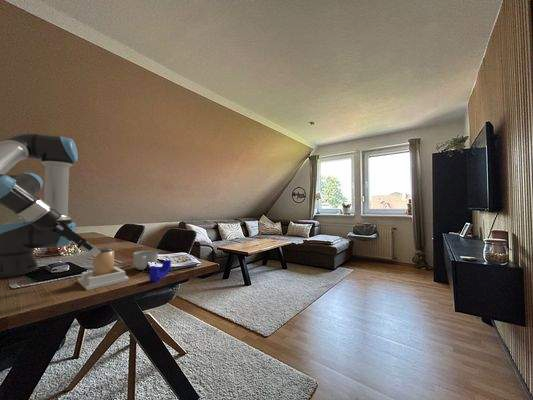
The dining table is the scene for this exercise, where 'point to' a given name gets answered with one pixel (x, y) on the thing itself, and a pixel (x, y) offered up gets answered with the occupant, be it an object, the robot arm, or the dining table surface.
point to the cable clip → (160, 271)
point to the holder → (102, 279)
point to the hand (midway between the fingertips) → (92, 251)
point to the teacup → (144, 258)
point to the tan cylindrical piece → (103, 262)
